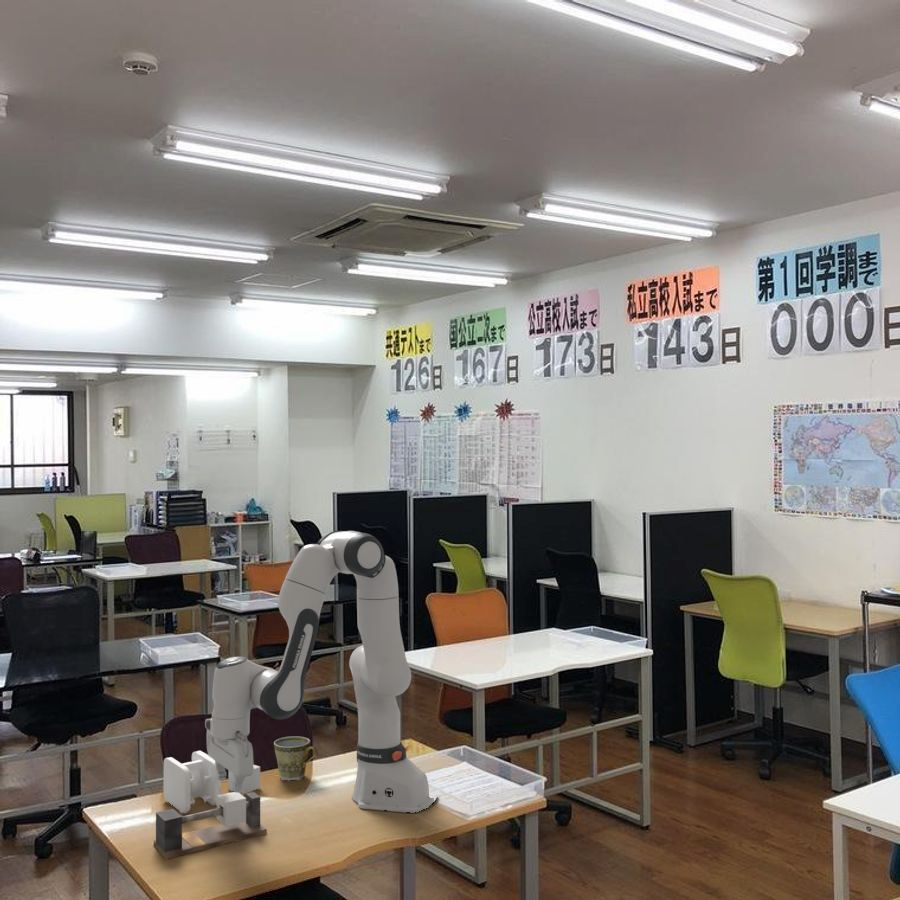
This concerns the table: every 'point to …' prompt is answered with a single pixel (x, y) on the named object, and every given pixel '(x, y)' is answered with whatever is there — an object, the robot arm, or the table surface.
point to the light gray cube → (247, 781)
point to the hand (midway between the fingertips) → (229, 785)
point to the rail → (180, 843)
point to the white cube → (232, 808)
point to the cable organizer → (191, 781)
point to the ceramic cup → (292, 756)
